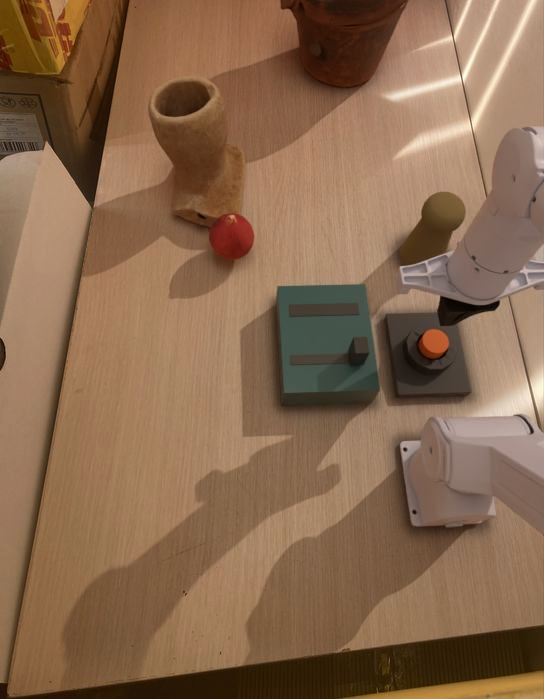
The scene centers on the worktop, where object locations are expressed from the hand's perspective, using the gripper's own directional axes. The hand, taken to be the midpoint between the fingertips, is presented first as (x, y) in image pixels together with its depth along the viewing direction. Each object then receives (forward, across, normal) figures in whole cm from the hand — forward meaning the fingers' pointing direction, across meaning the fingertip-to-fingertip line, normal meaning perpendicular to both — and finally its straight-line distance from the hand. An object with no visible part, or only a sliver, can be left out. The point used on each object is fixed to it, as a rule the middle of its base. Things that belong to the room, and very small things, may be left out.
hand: (444, 317), depth 59 cm
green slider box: (+10, +12, -1) cm, 16 cm away
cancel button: (+8, -1, 0) cm, 8 cm away
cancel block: (+10, -1, 0) cm, 10 cm away
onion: (+11, +23, -16) cm, 30 cm away
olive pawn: (+11, -3, -15) cm, 19 cm away
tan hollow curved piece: (+11, +27, -27) cm, 40 cm away
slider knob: (+6, +9, +2) cm, 11 cm away
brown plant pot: (+11, +5, -54) cm, 55 cm away
